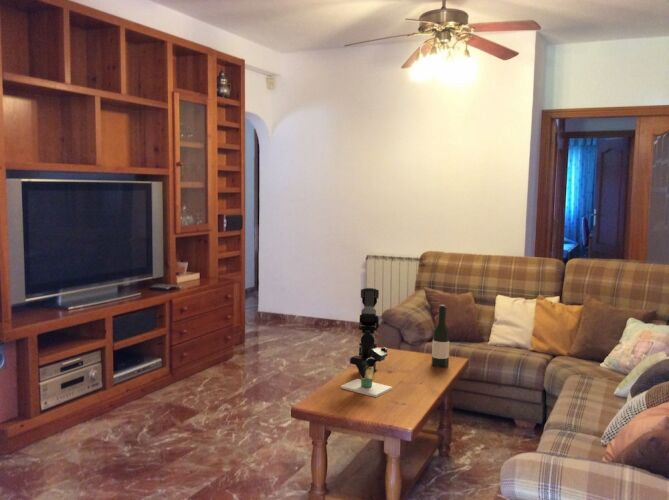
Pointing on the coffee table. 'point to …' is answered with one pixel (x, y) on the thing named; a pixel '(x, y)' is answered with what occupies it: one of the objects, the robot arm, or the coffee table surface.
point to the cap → (369, 372)
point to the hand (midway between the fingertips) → (366, 376)
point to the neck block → (366, 387)
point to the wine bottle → (441, 341)
